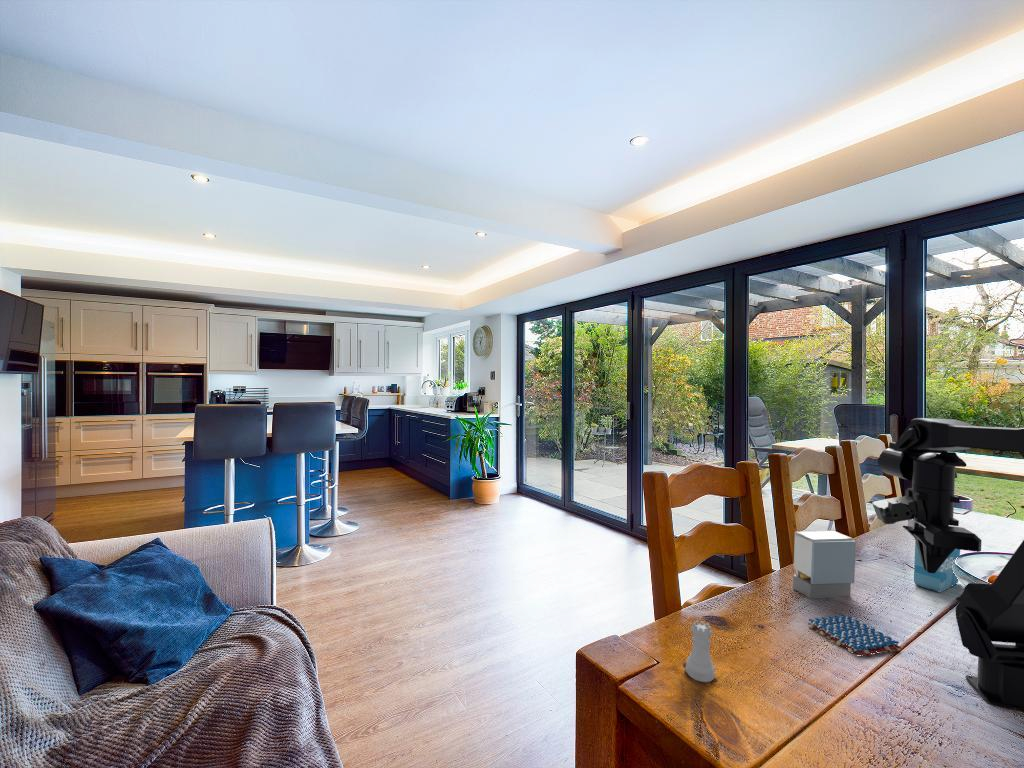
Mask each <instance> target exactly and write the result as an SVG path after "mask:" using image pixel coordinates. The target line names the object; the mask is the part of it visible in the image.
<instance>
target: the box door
mask: <svg viewBox="0 0 1024 768" xmlns="http://www.w3.org/2000/svg"><path fill="white" fill-rule="evenodd" d="M856 541H857V540H854V539H852V540H846V541H812V564H811V584H838V583H851V584H854V583H855V571H856V570H855V569H856V549H857V548H856V547H857V545H856V544H857V543H856Z"/></svg>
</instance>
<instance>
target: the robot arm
mask: <svg viewBox="0 0 1024 768" xmlns="http://www.w3.org/2000/svg"><path fill="white" fill-rule="evenodd" d="M888 446H889V447H888V448H886V449H884V450H883V451H882V452H881V453H880V454H879V457H878V458H877V465H878V467H879V470H881V471H882V472H883V473H884V474H886V475H890V476H891V477H892V476H893V477H896V478H900V479H903V480H907V481H910V482H911V487H907V488H906V489H905V492H904V493H905V494H904V496H898V497H897V496H896V497H891V498H885V499H884V498H883V499H879V500H876V501H872V503H871V504H872V507H873V510H874V512H875V515H876V517H877V519H878V520H880V521H882V523H883V524H885V525H893V524H896V523H898V522H904V521H907V525H902V528H903V529H904V530H906V531H907V533H909V534H910V535H911V536H912V537H913V539H914V542H915V541H916V544H917V547H918V551H919V554H920V558H921V561H922V565H923V568H924V570H926V571H927V572H928V573H936V571H937V570H938V569H939V568H940V566H941V565H942V564H943V563H944V561H945V560H946V559H947V558H948V556H949V555H950V554H951V553H952V552H953V551H954V550H955V549H960V551H969V552H977V553H979V552H981V551H982V539H981V538H980V537H979V536H978V535H977V534H975V532H972V531H970V530H968V529H966V528H965V527H960V526H959V522H960V520H958V519H957V518H955V517H954V508H955V505H954V504H955V503H956V504H960V499H961V498H960V496H957V495H955V485H956V484H955V482H956V481H955V480H956V467H958V468H959V467H961V468H965V467H967V462H965V460H964V459H963V458H961V457H959V456H958V455H957V453H956V452H955V451H963V450H970V449H977V450H979V449H981V450H987V451H989V450H991V451H1000V452H1001V451H1002V452H1012V453H1019V455H1021V457H1022V458H1023V459H1024V427H999V426H982V425H981V426H978V425H974V424H971V423H969V422H967V421H964V420H963V421H962V420H958V419H954V418H932V417H931V418H930V417H927V418H926V417H924V418H923V417H916V418H913V419H911V421H910V423H909V424H908V425H907V426H906V427H905V429H904V431H903V433H901V436H900V437H899V438H898V440H897V441H896V442H895V441H894V442H893V441H892V442H891V441H890V442H889V443H888ZM955 600H956V601H957V602H958V603H957V604H956V607H955V612H954V613H955V618H956V622H957V627H958V632H959V635H960V640H961V644H962V646H963V647H964V648H965V649H967V650H968V653H969V654H970V655H972V656H974V657H977V676H973V675H965V679H966V680H967V682H968V683H969V684H970V685H971V686H972V687H973V689H974V690H975V691H976V692H978V694H980V696H981V697H982V698H983V699H984V700H985V702H987V703H988V704H991V705H994V706H999V707H1003V708H1007V709H1011V710H1012V709H1013V710H1016V711H1017V710H1018V711H1022V712H1024V539H1023V540H1022V541H1021V543H1020V544H1019V546H1018V547H1017V548H1016V550H1015V551H1014V553H1013V554H1012V555H1011V556H1010V558H1009V560H1008V561H1007V562H1006V564H1005V565H1004V566H1003V568H1002V569H1001V571H1000V572H999V574H998V575H997V576H996V578H995V579H994V581H993V582H992V583H981V582H980V583H979V582H978V583H977V582H968V583H967V584H966V585H965V586H964V588H963V592H962V593H961V594H960V595H959V596H957V597H956V598H955ZM993 642H996V643H993ZM1001 643H1007V644H1001ZM1008 643H1009V644H1008Z"/></svg>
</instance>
